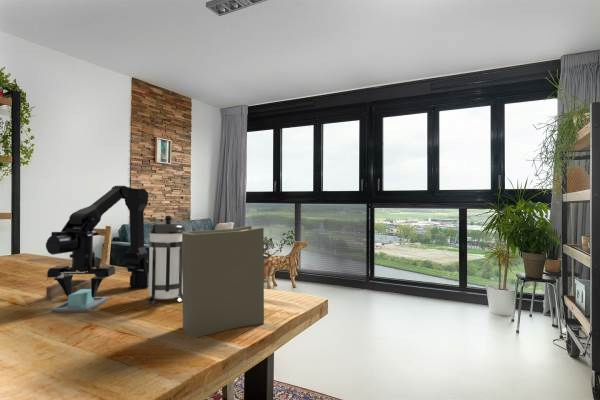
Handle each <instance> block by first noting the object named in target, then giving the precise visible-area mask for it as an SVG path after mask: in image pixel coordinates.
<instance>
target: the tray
mask: <svg viewBox="0 0 600 400" xmlns="http://www.w3.org/2000/svg"><path fill="white" fill-rule="evenodd" d="M108 300H109V297H108V296H95V297H94V301H92V302H91V303H89V304H87V305H86V306H84V307H82V308H68V300H66V301H64V302H62V303H60V304H58V305H56V306H54V307H52V308H51V310H50V313H51V312H69V313H90V312H91V310H92V311H93V310H95V309H96V308H98V307H99V306H101V305H103V304H104V303H106V302H107V301H108ZM89 311H90V312H89Z"/></svg>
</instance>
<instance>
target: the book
mask: <svg viewBox="0 0 600 400" xmlns="http://www.w3.org/2000/svg"><path fill="white" fill-rule="evenodd" d="M264 235H265V233H264V227H258V228H252V225H247V226H245V225H244V226H241V227H240V226H239V227H234V228H226V229H225V228H223V229H209V230H208V229H206V230H192V231H191V230H189V231H188V230H187V231H185V232H182V290H183V294H182V295H183V302H182V332H183V333H184V335H185V336H187V337H189V338H190V339H195V338H200V337H203V336H208V335H211V334H215V333H220V332H223V331H228V330H233V329H237V328H241V327H247V326H256V325H264V324H265V289H264V288H265V284H264V283H265V281H264V280H265V268H264V267H265V265H264V263H265V261H264V257H265V256H264V254H265V253H264V250H265V247H264V246H265V245H264V243H265V242H264V241H265V240H264V239H265V238H264V237H265V236H264Z"/></svg>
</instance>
